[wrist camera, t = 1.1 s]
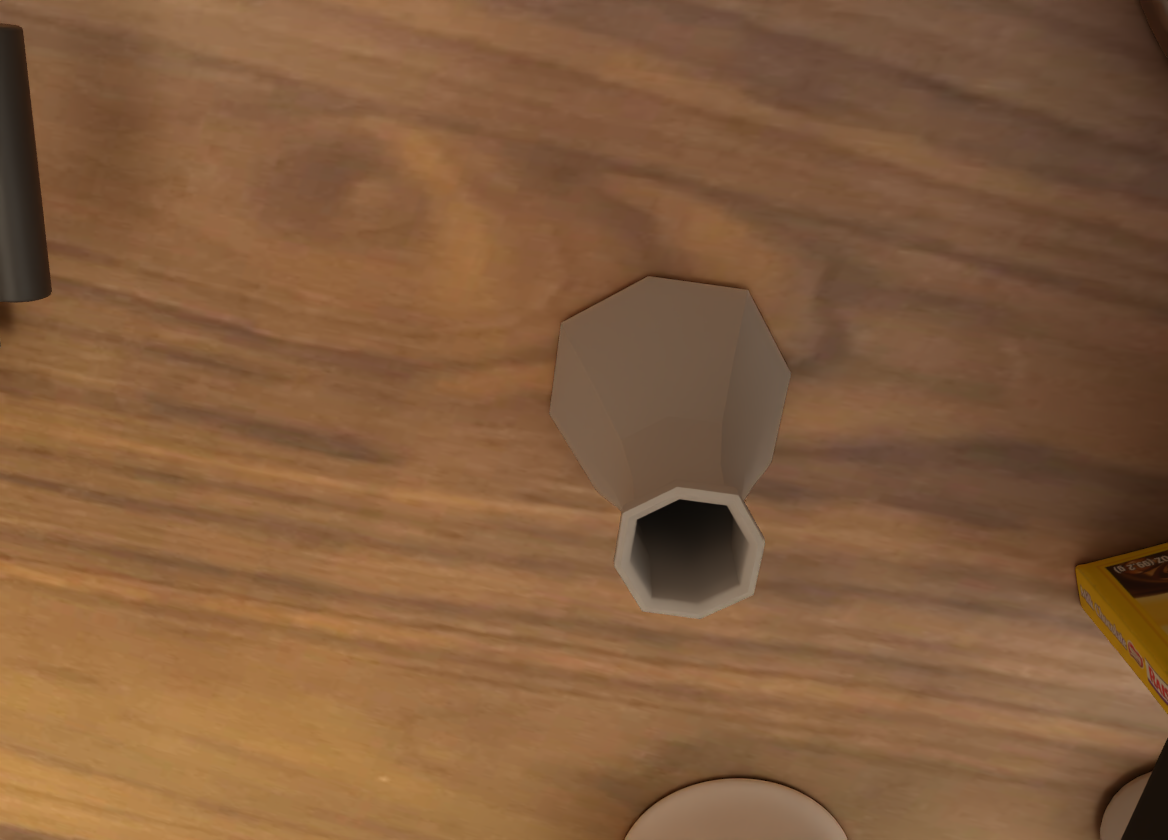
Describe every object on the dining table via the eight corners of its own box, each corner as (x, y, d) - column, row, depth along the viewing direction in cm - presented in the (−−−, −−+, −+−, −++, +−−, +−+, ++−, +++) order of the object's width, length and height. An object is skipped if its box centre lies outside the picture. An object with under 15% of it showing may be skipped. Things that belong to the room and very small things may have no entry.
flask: (524, 295, 30) (482, 425, 21) (774, 251, 29) (846, 364, 20) (572, 515, 33) (554, 719, 23) (803, 479, 32) (878, 674, 23)
